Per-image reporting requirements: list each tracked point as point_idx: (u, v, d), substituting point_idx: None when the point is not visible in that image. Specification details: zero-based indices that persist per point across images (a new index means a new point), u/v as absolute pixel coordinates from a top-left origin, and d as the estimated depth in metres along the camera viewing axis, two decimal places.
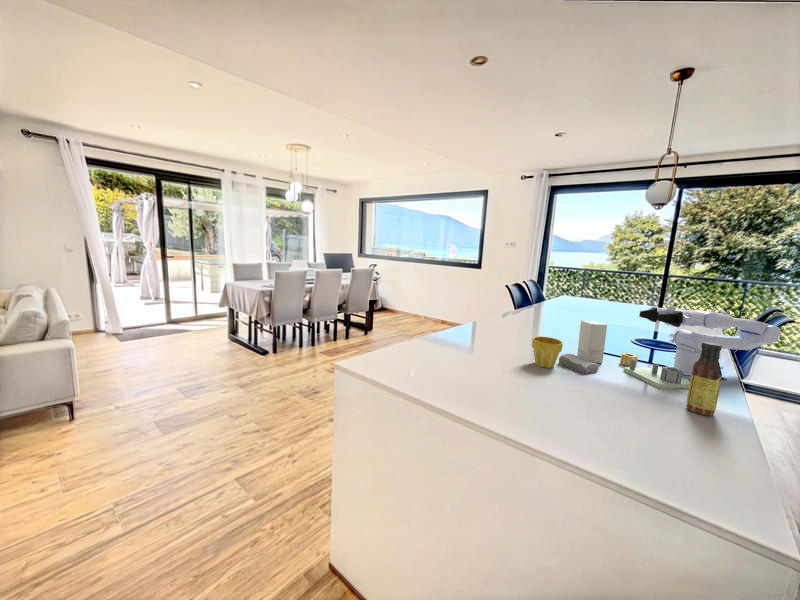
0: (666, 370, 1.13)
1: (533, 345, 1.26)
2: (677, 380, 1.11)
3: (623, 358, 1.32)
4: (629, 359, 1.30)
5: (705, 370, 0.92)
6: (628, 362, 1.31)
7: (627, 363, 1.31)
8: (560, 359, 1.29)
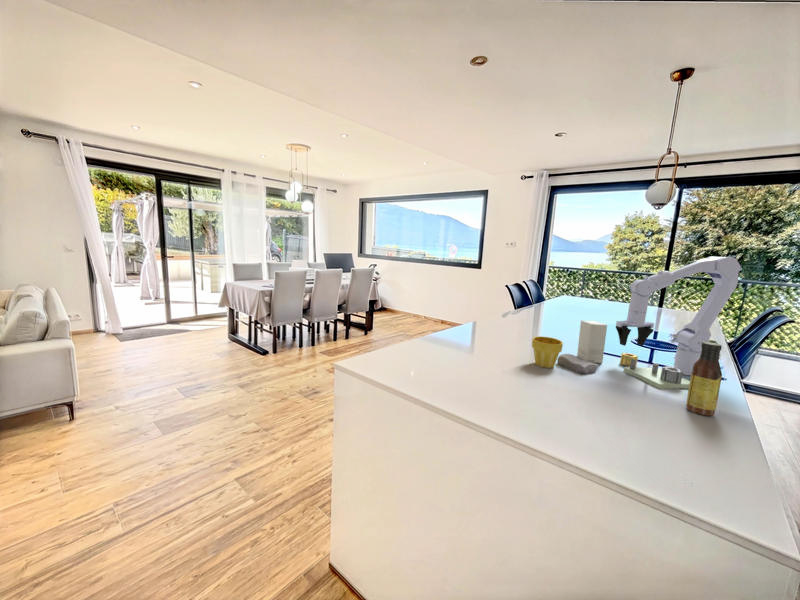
0: (666, 370, 1.13)
1: (533, 345, 1.26)
2: (677, 380, 1.11)
3: (623, 358, 1.32)
4: (629, 359, 1.30)
5: (705, 370, 0.92)
6: (628, 362, 1.31)
7: (627, 363, 1.31)
8: (559, 359, 1.28)
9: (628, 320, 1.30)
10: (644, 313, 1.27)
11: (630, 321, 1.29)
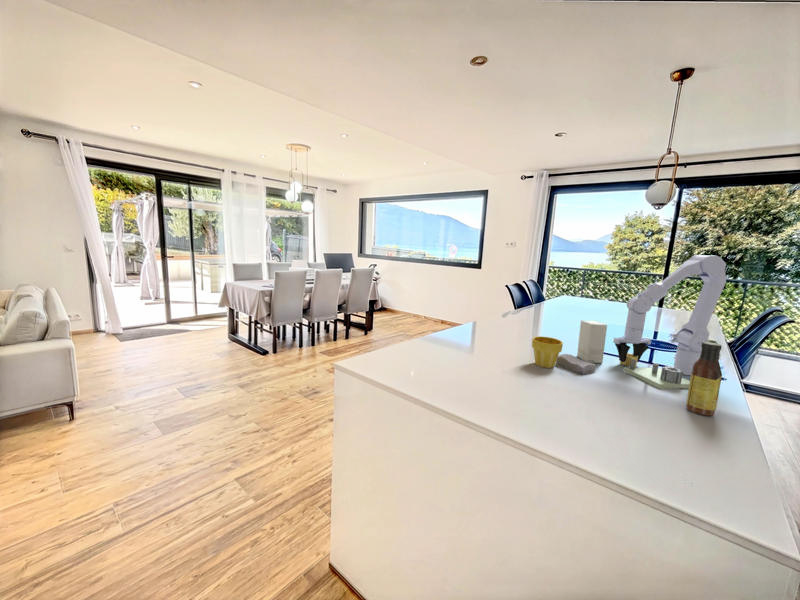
0: (666, 370, 1.13)
1: (533, 345, 1.26)
2: (677, 380, 1.11)
3: None
4: (629, 359, 1.30)
5: (705, 370, 0.92)
6: (628, 362, 1.31)
7: (627, 363, 1.31)
8: (557, 359, 1.28)
9: (625, 337, 1.31)
10: (641, 330, 1.28)
11: (627, 338, 1.30)
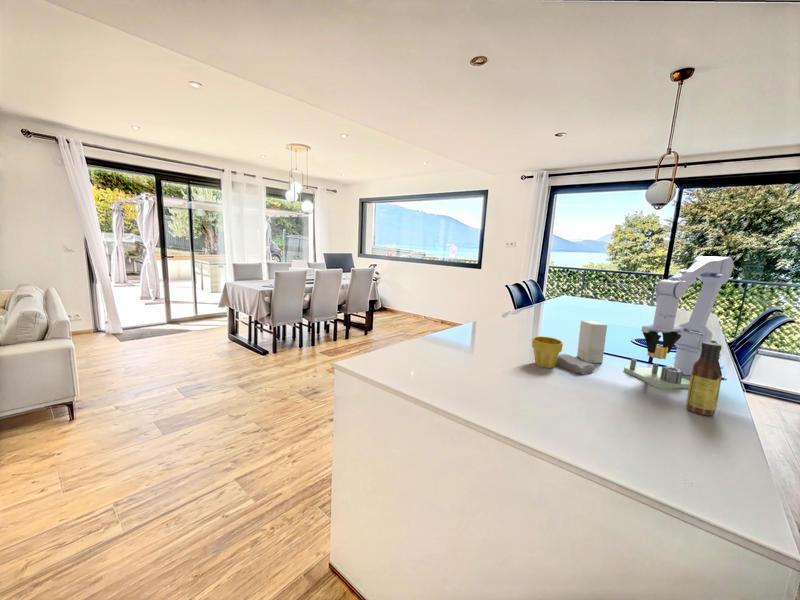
0: (666, 370, 1.13)
1: (533, 345, 1.26)
2: (677, 380, 1.11)
3: None
4: (658, 350, 1.17)
5: (705, 370, 0.92)
6: (657, 354, 1.17)
7: (656, 355, 1.18)
8: (556, 360, 1.28)
9: (655, 325, 1.17)
10: (673, 317, 1.14)
11: (657, 326, 1.16)
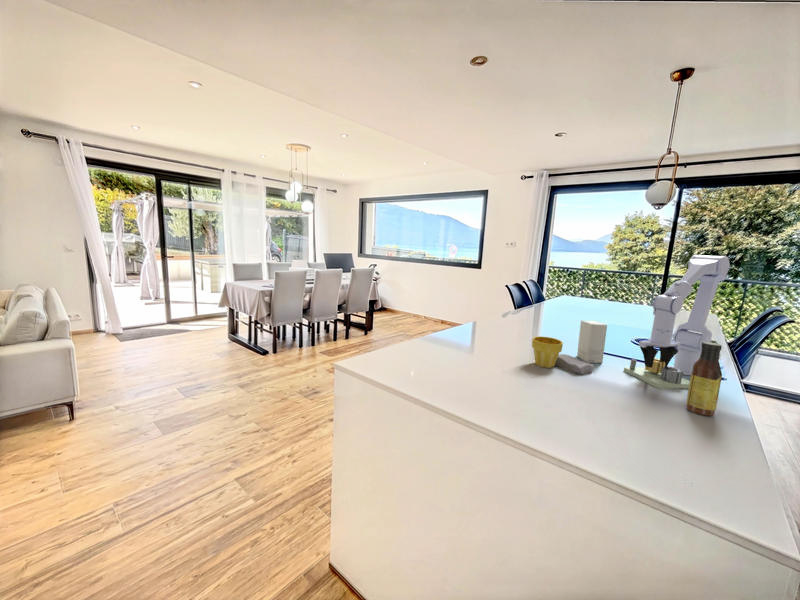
0: (666, 370, 1.13)
1: (533, 345, 1.26)
2: (677, 380, 1.11)
3: None
4: (655, 365, 1.18)
5: (705, 370, 0.92)
6: (654, 368, 1.18)
7: (653, 369, 1.18)
8: None
9: (652, 340, 1.18)
10: (670, 332, 1.15)
11: (654, 341, 1.17)
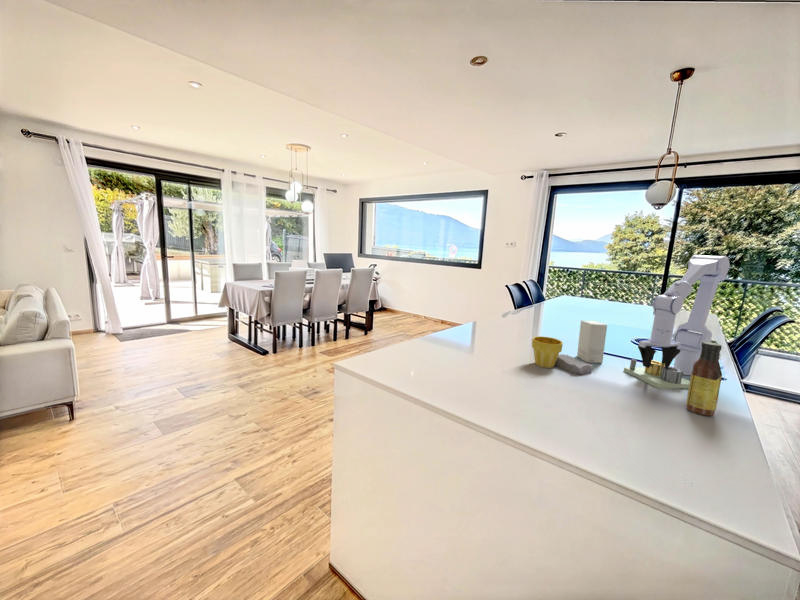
0: (666, 370, 1.13)
1: (533, 345, 1.26)
2: (677, 380, 1.11)
3: None
4: (655, 367, 1.18)
5: (705, 370, 0.92)
6: (654, 370, 1.18)
7: (653, 371, 1.19)
8: None
9: (652, 340, 1.18)
10: (670, 332, 1.15)
11: (654, 341, 1.17)
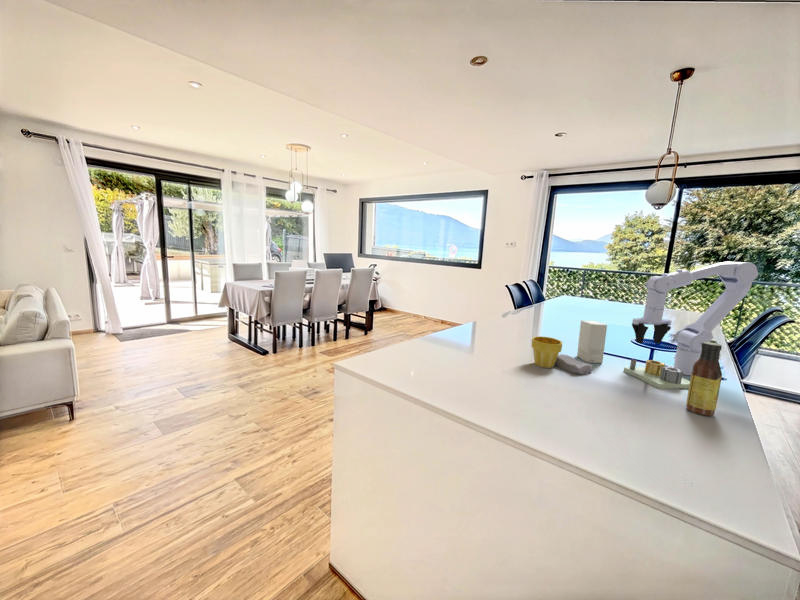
0: (666, 370, 1.13)
1: (533, 345, 1.26)
2: (677, 380, 1.11)
3: (648, 366, 1.20)
4: (655, 367, 1.18)
5: (705, 370, 0.92)
6: (654, 370, 1.18)
7: (653, 371, 1.19)
8: None
9: (645, 317, 1.27)
10: (661, 310, 1.24)
11: (647, 318, 1.26)
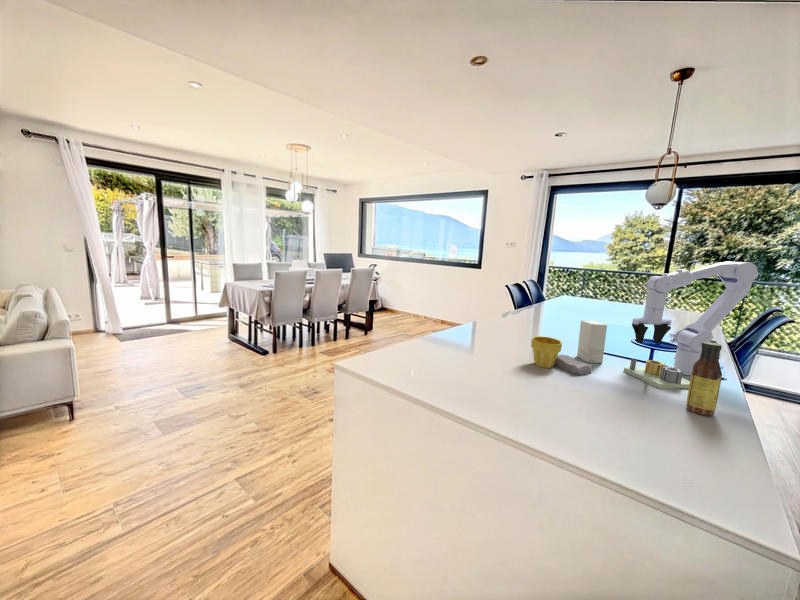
0: (666, 370, 1.13)
1: (532, 345, 1.25)
2: (677, 380, 1.11)
3: (648, 366, 1.20)
4: (655, 367, 1.18)
5: (705, 370, 0.92)
6: (654, 370, 1.18)
7: (653, 371, 1.19)
8: None
9: (645, 317, 1.27)
10: (661, 310, 1.24)
11: (647, 318, 1.26)
